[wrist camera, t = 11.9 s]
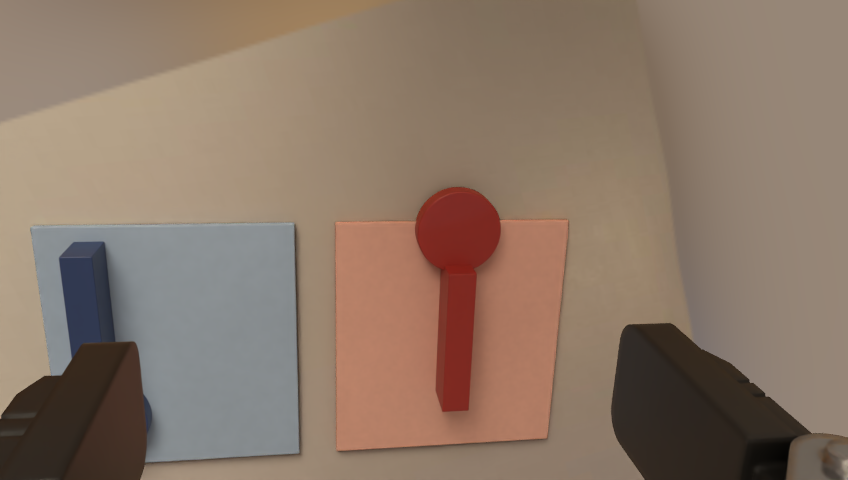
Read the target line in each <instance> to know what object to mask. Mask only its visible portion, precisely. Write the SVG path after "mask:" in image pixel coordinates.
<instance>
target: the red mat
mask: <svg viewBox="0 0 848 480" xmlns="http://www.w3.org/2000/svg"><path fill="white" fill-rule="evenodd" d="M415 224H416V221H378V222H336V223H335V258H336V450H337V451H347V450H363V449H380V448H396V447H413V446H429V445H446V444H462V443H479V442H495V441H512V440H529V439H545V438H547V436H548V426H549V416H550V406H551V396H552V386H553V376H554V366H555V356H556V346H557V336H558V326H559V316H560V306H561V296H562V287H563V277H564V267H565V257H566V247H567V237H568V227H569V221H568V220H567V219H549V220H500V224H501V235H500V240H499V243H498V245H497V248H496V249H495V251H494V253H493V254H492V255H491V257H490V258H489V259H488V260H487V261H486V262H484V263H483V264H482V265H480V266H478V267H476V268H474V270H475V272H476V273H477V281H476V298H475V314H474V331H473V348H472V364H471V381H470V397H469V410H468V411H451V412H442V409H441V406H440V403H439V400H438V397H437V394H436V391H435V388H436V365H437V342H438V319H439V296H440V273H441V269H439V268H437V267H435V266H434V265H432V264H431V263H430V262H429V261H428V260H427V259H426V258H425V256H424V255H423V253H422V251H421V249H420V247H419V245H418V243H417V240H416V235H415Z"/></svg>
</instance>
